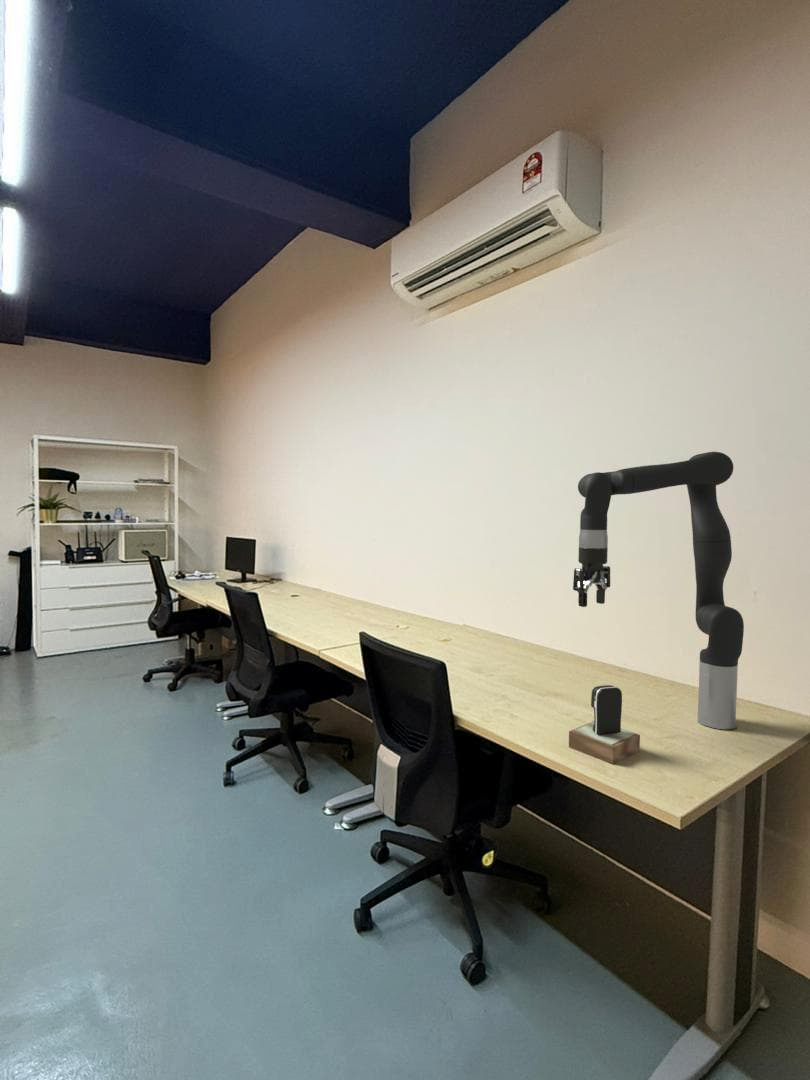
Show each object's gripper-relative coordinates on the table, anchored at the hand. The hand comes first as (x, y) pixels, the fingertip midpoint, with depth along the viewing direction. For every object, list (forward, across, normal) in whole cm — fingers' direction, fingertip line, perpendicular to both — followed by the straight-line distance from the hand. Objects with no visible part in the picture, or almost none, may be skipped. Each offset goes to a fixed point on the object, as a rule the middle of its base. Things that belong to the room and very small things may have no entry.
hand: (591, 604), depth 152 cm
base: (+33, +12, +12) cm, 37 cm away
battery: (+29, +12, +12) cm, 34 cm away
